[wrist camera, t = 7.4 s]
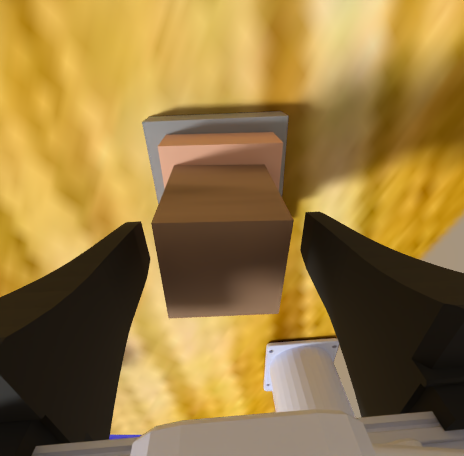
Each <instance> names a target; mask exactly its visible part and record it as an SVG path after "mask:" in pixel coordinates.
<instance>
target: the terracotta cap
mask: <svg viewBox="0 0 464 456" xmlns="http://www.w3.org/2000/svg"><path fill="white" fill-rule="evenodd" d="M282 150H283V142H282V141H281V140H280V139H279V138H278V137H277V136H276V135H275V134H274V132H248V133H210V134H173V135H165V137H164V138H163V139H162V141H161V142H160V144H159V145H158V152H159V158H160V164H161V170H162V176H163V182H164V189H165V187H166V185H167V182H168V179H169V177H170V174H171V172H172V169H173V167H174V165H262V164H265V166H266V168H267V170H268V172H269V174H270V176H271V178H272V180H273V181H274V183H275V185H276V187H277V189H278V191H279V183H280V172H281V161H282Z"/></svg>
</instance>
